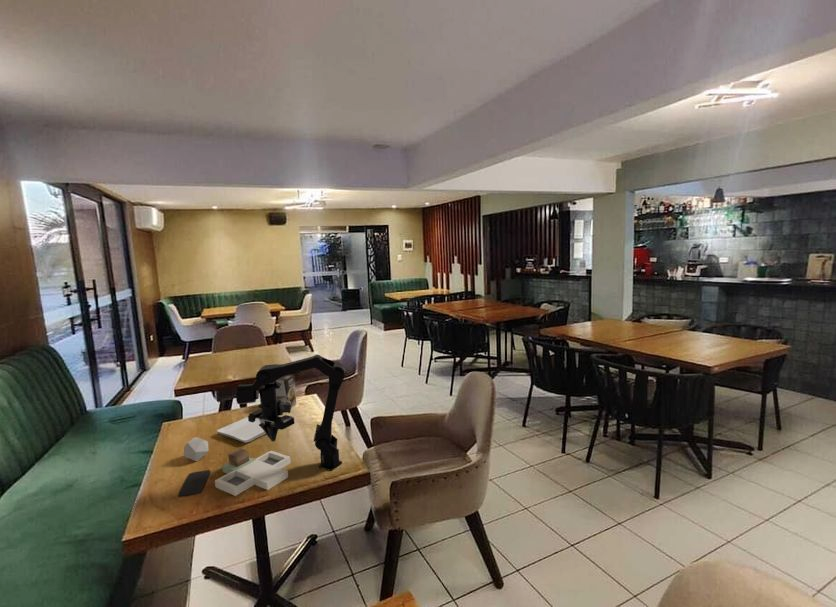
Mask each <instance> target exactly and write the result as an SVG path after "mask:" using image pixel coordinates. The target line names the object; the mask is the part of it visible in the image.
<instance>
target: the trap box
mask: <svg viewBox="0 0 836 607" xmlns="http://www.w3.org/2000/svg"><path fill="white" fill-rule="evenodd" d="M291 463H292V462H291V456H289V455H287V454H286V455H285V454H283V453H279V452H277V451H274V450H269V451H267V452H266V453H264V454H261V455H260V456H258V457H255V458H253V457H250V456H249V461H248V462H246V463H244V464H243V465H241V466H239V467H236V466H234V465H231V464H229V461H228V462H226V463H225V464H222V465H221V466H222V468H221V469H222V473H225V475H223V476H221V477H218V478H217V479H215V480H214V484H215V488H217V489H218V490H220V491H222V492H225V493H227V494H230V495H232V496H234V497H237V496H238V495H240V494H241V493H243V492H244V491H246V490H248V489H250V488H251V487H253V486H257V487H259V488H262V489H264V490H266V491H269V490H270V489H272V488H273V487H276V486H277V485H278V484H280V483H281V482H283V481H284V480H286V479H288V478H289V471H288V470H286V469H284V468H285V467H287V466H288V465H290V464H291Z"/></svg>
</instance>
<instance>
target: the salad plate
mask: <svg viewBox="0 0 836 607" xmlns="http://www.w3.org/2000/svg"><path fill="white" fill-rule="evenodd" d="M259 424H261V423H260V420H259V419H258V418H256V419H255V422H249V421H248V416H246V417H244V418H243V419H239V420H238V421H235V422H233V423H230V424H228V425H226V426H223V427H221V428H217V429H216V433H218V435H219V434H220V435H221V436H224V437H228V438H230V439H234V440H237V441H239V442H241V443H245V444H246V443H250V442H252V441H254V440H256V439H259V438H261V437H262V436H264V435H267V434H266V433H265V432H264V430H263V429H262V428H261V427H260V426H259Z"/></svg>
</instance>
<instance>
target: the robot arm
mask: <svg viewBox="0 0 836 607" xmlns="http://www.w3.org/2000/svg"><path fill="white" fill-rule="evenodd" d="M311 369H312V370H313V369H316V370H318V371H319V372H321V373H322V374H324V376H327V377H328V391H327V396H326V401H325V405H324V406H325V407H324V412H323V416H322V421H321V423H320V424H318V423H317V424H316V426H315V432H314V436H313V442H314V446H315V447H316V449H317V450H319V451H320V455H319V456H320V464H318V467H319V468H322V469H324V470H328V471H330V472H331V471H333V470H334V469H336V468H337V467H339V466H340V465H342V464H343V461H342V460H340V452H339V451H340V450H339V449H338V438H337V437H336V436H334V435H333V434H332V433H333V432H332V431H333V430H332V428H333V424H332V423H333V421H334V420H333V419H334V415H335V410H336V409H335V408H336V404H337V401H338V395H339V390H340V388H341V386H342V384H343V381H344V379H345V376H346V367H345V366H344V364H343V363H342V362H335V361H334V360H332V359H329V358H327V357H323V356H322V355H320V354H315V355H312V356H309V357H305V358H301V359H298V360H295V361H290V362H287V363H283V364H282V363H281V364H279V363H278V364H277V363H275V364H274V363H273V364H265V365H262V366H261V367H260V368H259V370H258V371H257V372H256V376H255V380H254V382H253V383H249V384H238V385H237V388H236V389H237V390H236V397H235V400H236V403H237V404H238V405H242V404H243V405H245V404H253V403H256V401H257V400H259V402H260V404H258V408H259V409H256V410H255V411H252V412H250V413H249V414H248V415H247V417H248V421H249V422H255V419H256V418H258V419H259V420H260V423H261V424H259V426H260V427H261V428H262V429H263V430H264V432H265V433H266V434H265V435H267V437H268V438H269V440H270V441H271V442H275V441H276V439H277V435H278V433H279V432H278V431H279V430H280V431H282V430H285V429H287V428H289V427H291V426H293V425H295V423H296V421H295V417H294V416H291V415H286V414H285V415H283V414H284V413H287V414H291V410H292V407H291V405H292V404H287V403H281V400H277V394H276V389H278V388H280V386H281V383H279V382H277V381H276V380H278V379H279V378H281V377H283V376H286V375H294V374H297V373H300V372H305V371H308V370H311Z"/></svg>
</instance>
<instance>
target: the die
mask: <svg viewBox="0 0 836 607" xmlns="http://www.w3.org/2000/svg"><path fill="white" fill-rule="evenodd" d="M208 452H209V441H208V440H205V439H202V438H200V437H198V436H194V437H193V438H191V439H190V440H189V441H188V442H187V443H186V444H184V446H183V457H184V458H187V459H190V460H191V461H193V462H198V461H199V460H201V459H202V458H203V457H204V456H205V455H206V454H208Z"/></svg>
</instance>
